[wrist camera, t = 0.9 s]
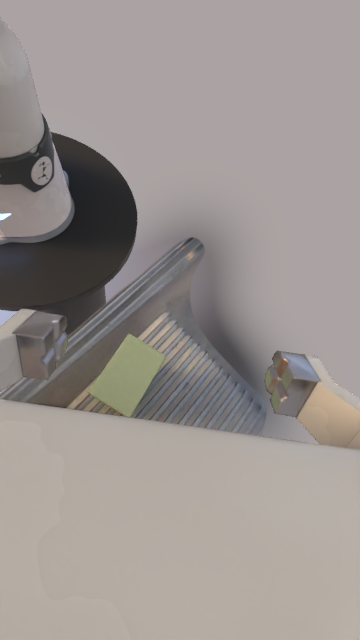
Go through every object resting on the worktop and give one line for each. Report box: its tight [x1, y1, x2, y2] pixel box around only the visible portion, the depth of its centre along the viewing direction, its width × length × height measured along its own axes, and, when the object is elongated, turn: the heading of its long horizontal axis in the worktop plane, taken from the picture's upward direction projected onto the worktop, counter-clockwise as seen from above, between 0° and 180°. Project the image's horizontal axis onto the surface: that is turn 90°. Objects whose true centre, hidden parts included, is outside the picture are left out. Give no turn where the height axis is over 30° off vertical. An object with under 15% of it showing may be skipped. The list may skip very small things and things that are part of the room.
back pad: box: [88, 334, 166, 417], centre depth 30 cm, size 4×6×16 cm, turn 150°
